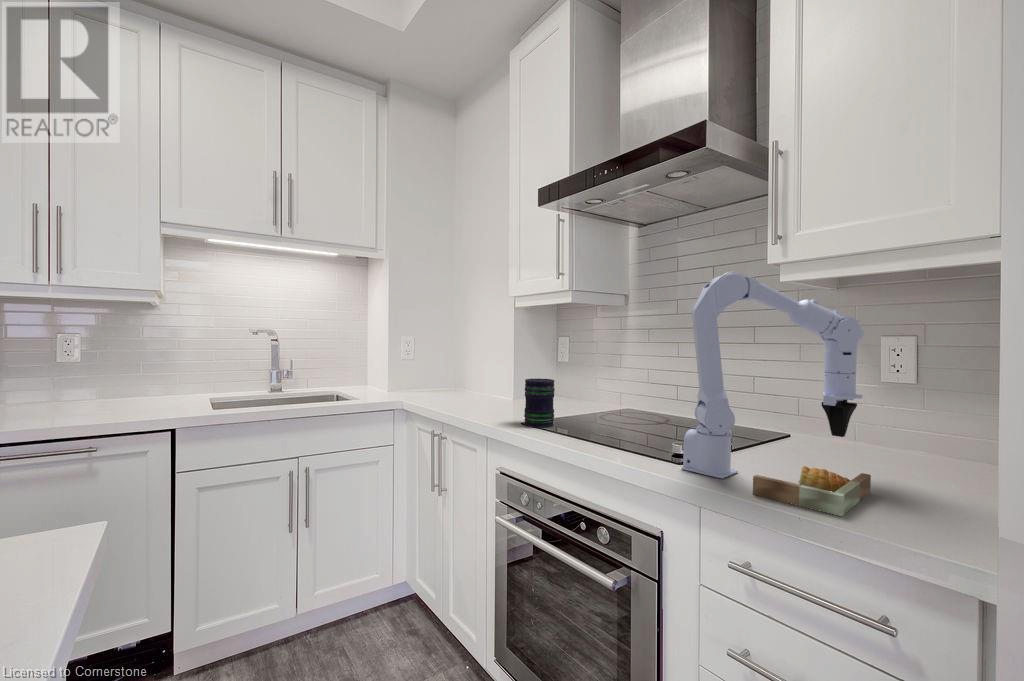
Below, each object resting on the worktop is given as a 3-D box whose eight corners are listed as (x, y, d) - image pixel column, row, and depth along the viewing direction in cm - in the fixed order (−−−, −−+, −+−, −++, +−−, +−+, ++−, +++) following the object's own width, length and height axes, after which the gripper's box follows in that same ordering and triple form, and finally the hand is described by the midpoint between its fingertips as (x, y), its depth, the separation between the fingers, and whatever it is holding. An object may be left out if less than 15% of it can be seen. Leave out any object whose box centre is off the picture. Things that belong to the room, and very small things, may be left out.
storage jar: (532, 429, 151) (532, 381, 151) (519, 423, 160) (519, 378, 160) (559, 426, 155) (560, 381, 155) (545, 421, 164) (546, 378, 164)
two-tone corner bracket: (752, 494, 92) (753, 476, 92) (789, 475, 105) (789, 459, 105) (841, 516, 81) (841, 496, 81) (870, 492, 94) (870, 474, 94)
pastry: (854, 488, 97) (855, 470, 97) (854, 498, 92) (855, 478, 91) (800, 480, 103) (801, 462, 102) (797, 488, 97) (798, 470, 97)
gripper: (852, 376, 95) (851, 444, 95) (871, 372, 105) (869, 434, 105) (812, 373, 100) (811, 438, 100) (833, 370, 110) (832, 429, 110)
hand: (838, 435), depth 103 cm, fingers closed
